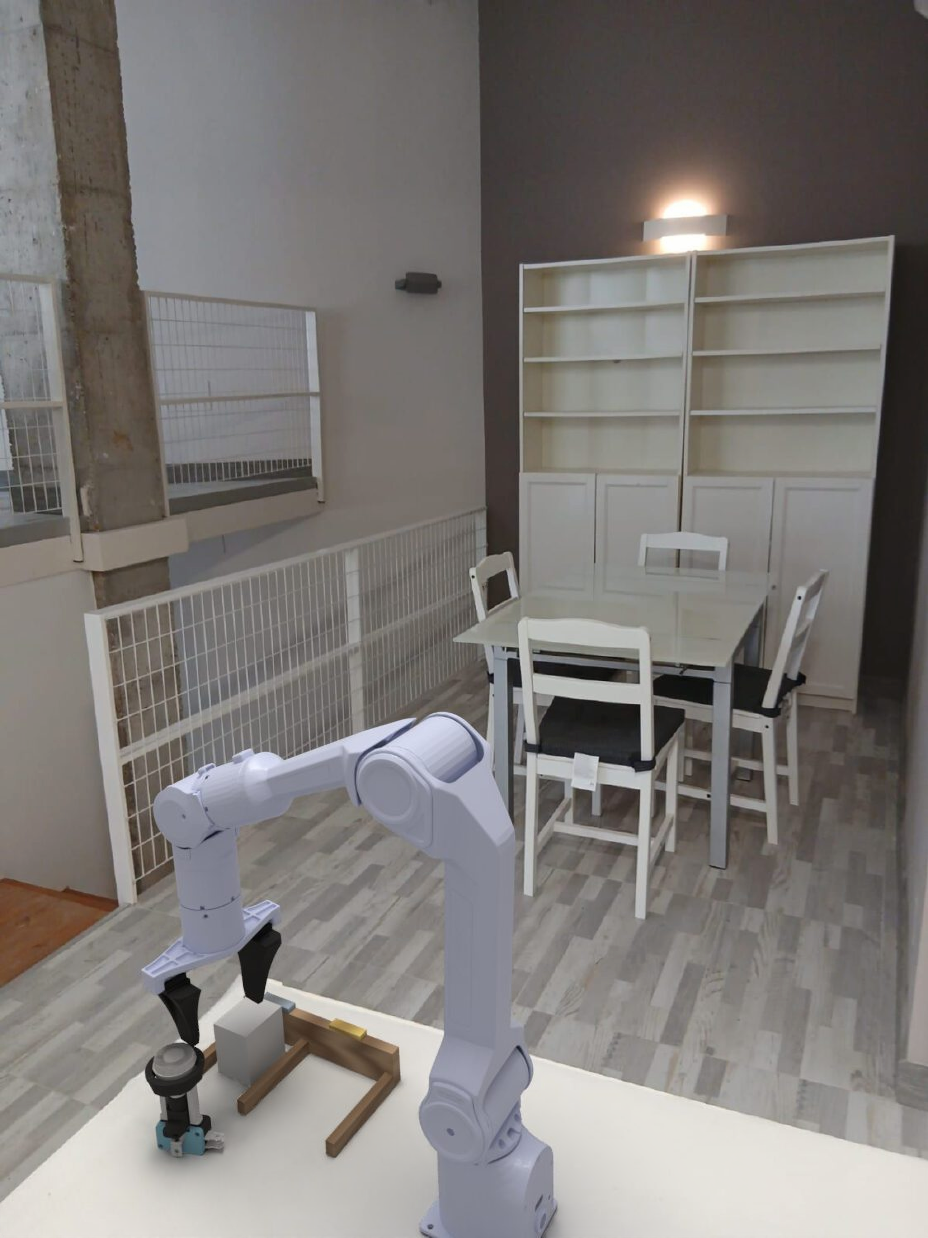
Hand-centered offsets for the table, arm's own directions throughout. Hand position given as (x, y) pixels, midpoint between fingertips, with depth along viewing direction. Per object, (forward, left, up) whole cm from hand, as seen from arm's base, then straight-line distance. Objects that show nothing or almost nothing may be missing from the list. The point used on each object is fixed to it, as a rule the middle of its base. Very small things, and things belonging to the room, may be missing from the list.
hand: (223, 1019), depth 90 cm
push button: (0, +6, -10) cm, 12 cm away
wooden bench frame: (-3, -5, -10) cm, 12 cm away
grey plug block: (+3, -6, -10) cm, 12 cm away
